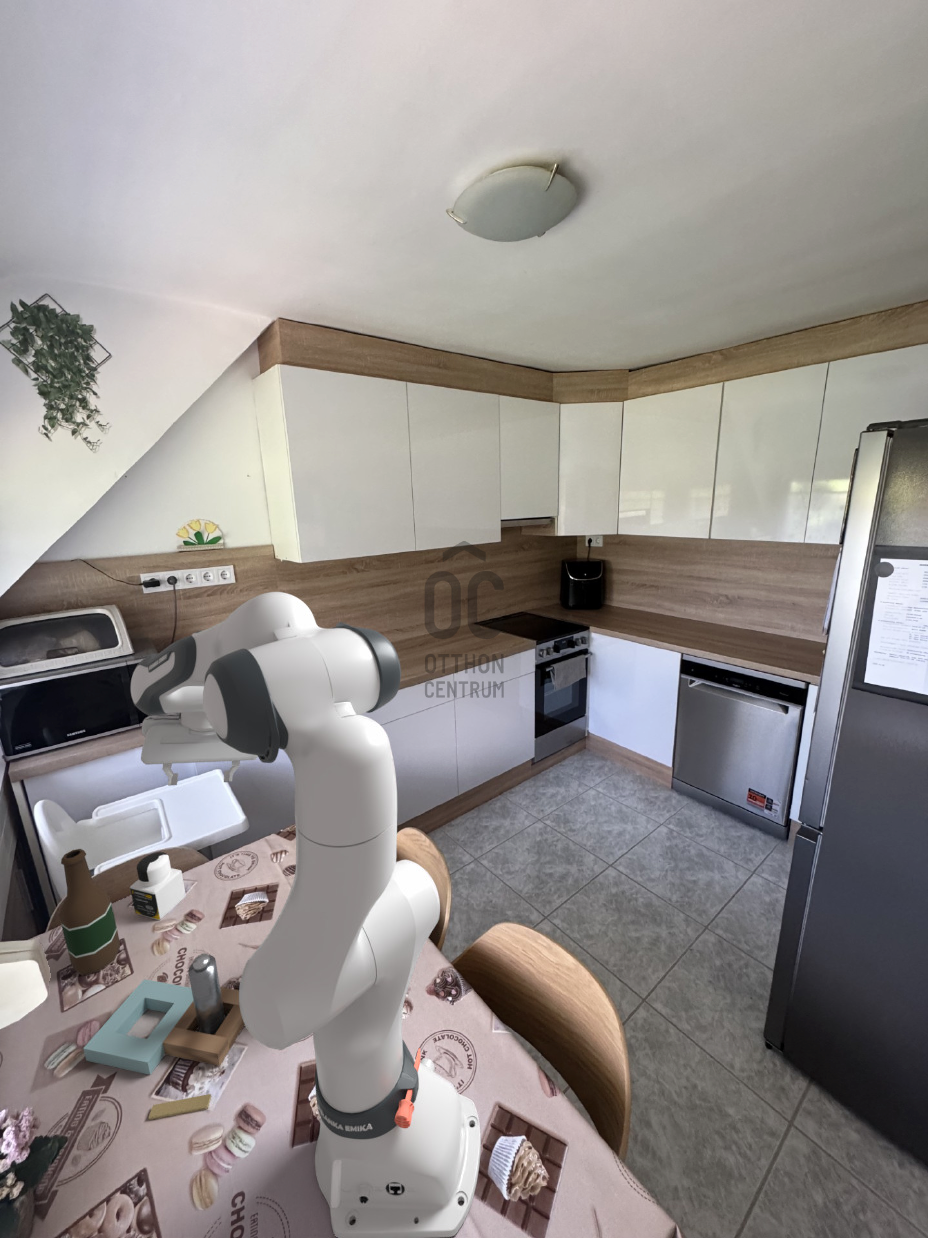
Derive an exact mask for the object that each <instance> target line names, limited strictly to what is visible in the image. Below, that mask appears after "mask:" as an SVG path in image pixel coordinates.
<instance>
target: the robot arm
mask: <svg viewBox="0 0 928 1238" xmlns="http://www.w3.org/2000/svg"><path fill="white" fill-rule="evenodd" d="M401 667H402V666H401V661H400V658H399V656H398V652H397V650H396V647H394V645H393V644H392V643H391V641H390V640H389V639H388V638H387V637H386V636H384V635H383V634H382V633H380V632H379V631H377V630H375V629H372V628H367V627H366V628H365V627H358V626H352V625H351V624H349V623H345V622H342V621H338V622H337V623H336V625H335V626H333V627H330V628H325V627H320V626H318V624H317V622H316V618H315V616H314V614H313V612H312V611H311V609H310V608H309V607H308V605H307V604H306V603H305V602H304V601H303V600H301V599H300V598H298V597H297V596H295V595H293V594H290V593H286V592H282V591H270V592H264V593H262V594H258V595H257V596H255V597H254V596H253V597H252V598H251V599H249V600H247V601H245V602H243V603H242V604H241V605H239V606H238V607H237V608H235V610H234V611H232V612H231V613H230V614H229V615H228V617H226V619H224V620H222V621H221V622H219V623H217V624H215V625H213V626H211V627H209V628H207V629H204V630H197V631H196V632H193V633H192V634H191V635H188V636H186V637H184V638H180V639H178V640H176V641H174V642H173V643H171V644H169V645H168V646H167V647H165V648H164V649H163V650H161V651H160V652H159V653H157V654H156V653H150V654H149V655H147V656H146V657H144V658H143V659H142V660H141V661H139V662H138V663H137V665H136V667H135V669H134V671H133V672H132V677H131V680H130V694H131V695H130V696H131V699H132V702H133V705H134V706H135V707H136V708H137V709H138V710H139V711H141V712H142V713H144V714H145V715H147V717H145V718H144V719H143V721H142V723H141V734H142V735H143V736H144V740H143V743H142V749H141V754H140V761H141V762H142V763H143V764H144V765H146V766H147V765H148V766H149V765H162V771H163V772H164V774H165V775H166V777H167V778H168V780H167V781H168V782H167V786H169V787H171V786H177V785H178V780H179V773H178V772H176V773H175V772H173V770H172V765H173V764H193V763H216V762H219V763H220V762H231V767H230V768H229V770H224V772H223V773H224V774H223V775H224V776H223V783H232V782H233V775H234V774H235V772H236V771H237V770H238V768H239V767H240V765H241V761H244V762H245V761H255V760H257V759H259V761H260V762H261V763H264V764H272V763H274V762H275V761H276V760H277V757H278V755H279V752H280V750H283V752H284V753H285V754H286V755H287V757H288V759H289V761H290V763H291V765H292V768H293V773H294V774H293V775H294V821H295V823H294V824H295V870H294V878H293V882H292V884H291V888H290V891H289V894H288V896H287V898H286V900H285V903H284V904H283V907H282V910H281V911H280V914H279V915H278V918H277V919H276V921H275V923H274V925H273V926H272V928H271V930H270V931H269V933H268V934H267V935H266V937H265V938H264V940H262V943H261V944H260V946H258V947H257V949H256V950H255V951H254V952H253V954H252V955H251V956H250V957H249V958H248V960H247V961H246V962H245V965H244V968H243V970H242V974H241V976H240V981H239V989H238V990H239V1006H240V1012H241V1016H242V1019H243V1021H244V1024H245V1025H244V1027H245V1028H246V1029H247V1031H248V1032H249V1034H250V1035H251V1036H252V1037H253V1038H254V1040H256V1041H257V1042H259V1044H261V1045H263V1046H265V1047H267V1048H270V1049H273V1050H278V1051H283V1050H285V1049H287V1048H288V1047H291V1046H293V1045H294V1044H297V1043H299V1042H300V1041H303V1040H304V1039H305V1038H307V1037H309V1036H310V1035H312V1041H313V1049H314V1056H315V1065H316V1068H315V1076H314V1086H315V1097H316V1107H317V1110H318V1114H319V1116H320V1126H319V1135H318V1137H317V1142H316V1144H315V1152H314V1153H315V1155H314V1167H315V1168H314V1169H315V1175H316V1180H317V1182H318V1183H317V1184H318V1186H319V1189H320V1191H321V1193H322V1194H323V1196H324V1198H325V1200H326V1202H327V1204H328V1207H329V1214H330V1222H331V1224H330V1225H331V1229H332V1233H333V1235H334V1234H335V1235H334V1237H335V1236H336V1237H338V1238H450V1237H451V1238H452V1237H453V1236H454V1237H455V1235H457V1234H458V1231H459V1230H460V1229H461V1227H462V1226H463V1224H464V1222H465V1220H466V1218H467V1217H468V1214H469V1212H470V1209H471V1206H472V1203H473V1199H474V1195H475V1191H476V1187H477V1182H478V1176H479V1171H480V1161H481V1151H482V1150H481V1148H482V1147H481V1144H482V1143H481V1142H482V1135H481V1132H482V1131H481V1124H480V1118H479V1113H478V1111H477V1107H476V1104H475V1103H474V1100H472V1099H470V1098H469V1097H467V1096H465V1095H462V1094H460V1093H458V1091H457V1089H456V1087H455V1085H453V1083H452V1082H450V1081H449V1080H447V1079H446V1078H444V1077H443V1076H441V1075H439V1074H438V1073H437V1072H435V1070H436V1069H435V1068H436V1066H435V1064H434V1062H433V1061H432V1059H429V1058H427V1057H425V1058H424V1057H423V1058H422V1059H421V1054H422V1053H421V1048H418V1050H417V1054H416V1057H415V1058H414V1056H413V1055H412V1053H411V1052H410V1049H409V1048H408V1046H407V1044H406V1043H405V1041H404V1039H403V1009H404V1004H405V1000H406V997H407V993H408V989H409V987H410V982H411V979H412V976H413V974H414V970H415V968H416V964H417V962H418V959H419V957H420V955H421V953H422V951H423V948H424V946H425V944H426V942H427V941H428V939H429V937H430V935H431V933H432V931H434V929H435V927H436V925H437V924H438V922H439V920H440V916H441V915H440V912H441V904H440V901H441V900H440V895H439V892H438V891H439V890H438V888H437V885H436V883H435V881H434V880H433V878H432V876H431V875H430V873H429V872H428V871H427V870H426V869H424V868H423V866H421V864H418V863H417V862H414V861H412V860H409V859H401V860H397V846H398V845H397V841H398V840H397V839H398V838H397V837H398V836H397V835H398V788H397V786H398V785H397V775H396V768H395V761H394V756H393V751H392V746H391V741H390V738H389V736H388V733H387V732H386V730H385V729H384V727H383V726H382V725H381V724H379V723H378V722H377V721H376V720H374V719H372V718H371V717H367V716H365V715H364V714H367V713H370V714H371V713H373V712H375V711H377V710H379V709H381V708H382V707H384V706H385V705H387V704H389V703H390V702H391V701H392V700H393V699H394V698H395V697H396V696H397V694H398V692H399V689H400V685H401V677H402V668H401ZM471 1125H474V1126H473V1127H471ZM461 1201H462V1202H463V1204H462V1205H460V1204H459V1202H461ZM353 1220H354V1221H355V1223H353V1224H352V1225H351V1224H350V1223H351V1222H352V1221H353ZM336 1237H335V1238H336Z"/></svg>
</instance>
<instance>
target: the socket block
mask: <svg viewBox="0 0 928 1238" xmlns="http://www.w3.org/2000/svg"><path fill="white" fill-rule="evenodd" d="M220 989H221V995H222V1001H223V1007H224V1012H225V1015H226V1016H225V1020H224V1021H223V1023H222V1024H221V1026H220V1028H219V1029H218V1031H217V1032H216V1034H215V1035H210V1034H205V1033H200V1032H199V1031H198V1030H199V1027H198V1022H197V1016H196V1011H195V1006H194V1001H193V1002H192V1003H191V1005H190V1006H189V1007H188V1009H187V1010H186V1011H185V1013H184V1014H183V1015H182V1017H181V1018H180V1020H179V1021H178V1022H177V1024H176V1025H175V1026H174V1028H173V1029H172V1030H171V1032H170V1033H169V1034H168V1036H167V1037H166V1038H165V1040H164V1041H163V1047H164V1051H165V1055H166V1056H172V1057H176V1058H180V1059H184V1060H189V1061H195V1062H200V1063H204V1064H208V1065H213V1066H217V1067H221V1065H222V1063H223V1062H224V1060H225V1059H226V1056H227V1055H228V1053H229V1052H230V1050H231V1049H232V1047H233V1045H234V1044H235V1042H236V1041H237V1039H238V1036H239V1035H240V1033H241V1032H242V1030H243V1028H244V1027H245V1024H244V1021H243V1019H242V1016H241V1012H240V1006H239V989H233V988H226V987H223V986H220Z"/></svg>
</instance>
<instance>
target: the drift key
mask: <svg viewBox="0 0 928 1238" xmlns="http://www.w3.org/2000/svg"><path fill="white" fill-rule="evenodd" d="M211 1100H212V1094H211V1093H208V1094H203V1095H198V1096H192V1097H188V1098H182V1099H178V1100H171V1101H167V1102H162V1103H155V1104H153V1105H152V1108H151V1109H150V1112H149V1114H148V1120H149V1121H151V1120H158V1119H161V1118H167V1117H171V1116H176V1115H182V1114H183V1115H184V1114H187V1113H192V1112H197V1111H202V1110H207V1109H209V1108H210V1103H211Z"/></svg>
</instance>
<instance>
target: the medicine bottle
mask: <svg viewBox="0 0 928 1238" xmlns="http://www.w3.org/2000/svg"><path fill="white" fill-rule="evenodd" d="M171 866H172V865H171V861H170V856H169V854H168V853H166V852H163V851H159V852H158V851H157V852H154V853H150V854H148V855H145V856H144V857H143V858H142V859H141V860H140V861H138V863H137V865H136V871H137V877H138V880H136V881H134V882H133V884H131V885H130V887H129V890H130V893H131V894H130V895H131V900H132V904H133V908H134V913H135V915H140V916H143V917H146V918H150V919H152V920H153V919H154V920H157V921H161V920H162V919H163V918H164V917H165V916H166V915H167V914H169V913H171V911H172V910H173V909H174V908H176V906H177V905H178V904H180V903H181V902H182V901H183V900H184V899H185V898H186V897H187V895H186V894H187V893H186V890H185V889H186V888H185V883H184V877H183V872H182V870H181V869H176V868H173V867H171ZM180 901H181V902H180Z"/></svg>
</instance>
